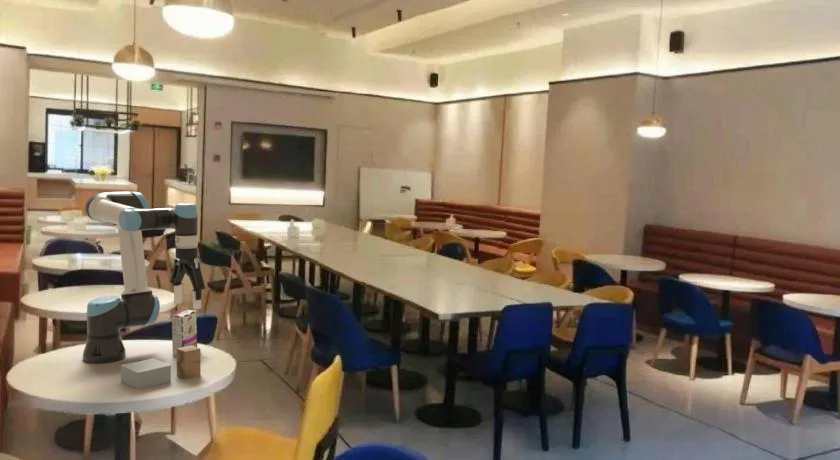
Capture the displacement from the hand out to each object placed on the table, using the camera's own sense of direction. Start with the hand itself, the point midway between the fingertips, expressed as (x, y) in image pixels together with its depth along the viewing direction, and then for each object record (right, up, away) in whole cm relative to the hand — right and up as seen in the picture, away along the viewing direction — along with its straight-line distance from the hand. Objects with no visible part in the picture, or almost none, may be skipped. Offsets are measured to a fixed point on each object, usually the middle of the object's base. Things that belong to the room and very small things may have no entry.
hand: (187, 306), depth 247 cm
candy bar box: (-11, -22, +30) cm, 39 cm away
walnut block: (0, -25, +2) cm, 26 cm away
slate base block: (-13, -26, -5) cm, 30 cm away
